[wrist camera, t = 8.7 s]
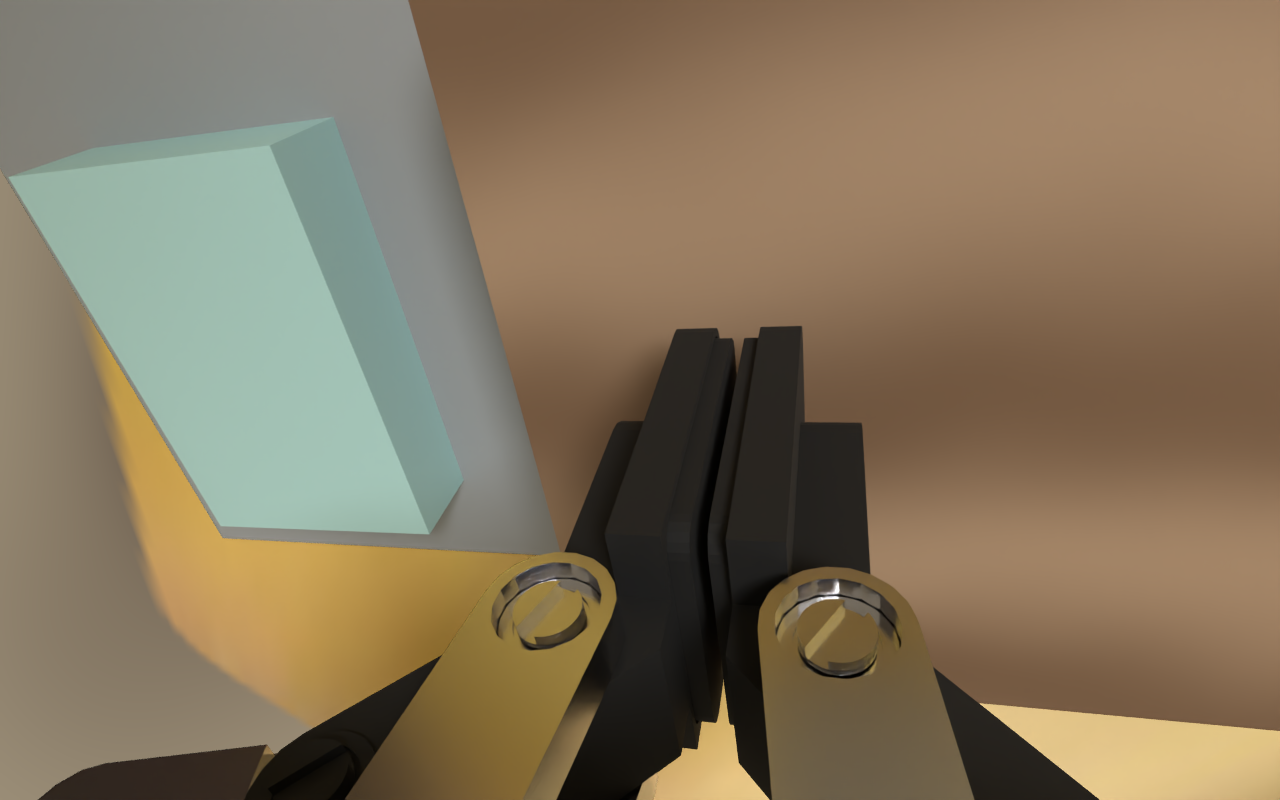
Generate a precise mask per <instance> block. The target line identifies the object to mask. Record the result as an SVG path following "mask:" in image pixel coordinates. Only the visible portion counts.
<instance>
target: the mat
mask: <svg viewBox="0 0 1280 800" xmlns="http://www.w3.org/2000/svg"><path fill="white" fill-rule="evenodd" d="M330 117H334V120H335V123H336V126H337V128H338V131H339V134H340V137H341V140H342V142H343V145H344V148H345V151H346V153H347V156H348V159H349V162H350V165H351V167H352V170H353V173H354V176H355V179H356V181H357V184H358V187H359V190H360V192H361V195H362V198H363V201H364V204H365V206H366V209H367V212H368V215H369V218H370V220H371V223H372V226H373V229H374V231H375V234H376V237H377V240H378V243H379V245H380V248H381V251H382V254H383V256H384V259H385V262H386V265H387V268H388V270H389V273H390V276H391V279H392V282H393V284H394V287H395V290H396V293H397V295H398V298H399V301H400V304H401V307H402V309H403V312H404V315H405V318H406V321H407V323H408V326H409V329H410V332H411V334H412V337H413V340H414V343H415V346H416V348H417V351H418V354H419V357H420V360H421V362H422V365H423V368H424V371H425V373H426V376H427V379H428V382H429V385H430V387H431V390H432V393H433V396H434V399H435V401H436V404H437V407H438V410H439V412H440V415H441V418H442V421H443V424H444V426H445V429H446V432H447V435H448V438H449V440H450V443H451V446H452V449H453V451H454V454H455V457H456V460H457V463H458V465H459V468H460V471H461V474H462V477H463V479H464V481H463V482H462V484H461V485H460V487H459V488H458V490H457V492H456V493H455V495H454V496H453V498H452V500H451V501H450V503H449V504H448V506H447V508H446V509H445V511H444V512H443V514H442V515H441V517H440V519H439V520H438V522H437V523H436V525H435V527H434V528H433V530H432V531H431V533H430V534H407V533H381V532H356V531H331V530H305V529H280V528H255V527H229V526H220V524H219V523H218V521H217V519H216V518H215V516H214V514H213V513H212V511H211V509H210V508H209V506H208V504H207V503H206V501H205V500H204V498H203V496H202V495H201V493H200V491H199V490H198V488H197V486H196V485H195V483H194V481H193V480H192V478H191V477H190V475H189V473H188V472H187V470H186V468H185V467H184V465H183V463H182V462H181V460H180V458H179V457H178V455H177V454H176V452H175V450H174V449H173V447H172V445H171V444H170V442H169V440H168V439H167V437H166V436H165V434H164V432H163V431H162V429H161V427H160V426H159V424H158V422H157V421H156V419H155V417H154V416H153V414H152V413H151V411H150V409H149V408H148V406H147V404H146V403H145V401H144V399H143V398H142V396H141V394H140V393H139V391H138V390H137V388H136V386H135V385H134V383H133V381H132V380H131V378H130V376H129V375H128V373H127V371H126V370H125V368H124V367H123V365H122V363H121V362H120V360H119V358H118V357H117V355H116V353H115V352H114V350H113V349H112V347H111V345H110V344H109V342H108V340H107V339H106V337H105V335H104V334H103V332H102V330H101V329H100V327H99V326H98V324H97V322H96V321H95V319H94V317H93V316H92V314H91V312H90V311H89V309H88V307H87V306H86V304H85V303H84V301H83V299H82V298H81V296H80V294H79V293H78V291H77V289H76V288H75V286H74V284H73V283H72V281H71V280H70V278H69V276H68V275H67V273H66V271H65V270H64V268H63V266H62V265H61V263H60V261H59V260H58V258H57V257H56V255H55V253H54V252H53V250H52V248H51V247H50V245H49V243H48V242H47V240H46V239H45V237H44V235H43V234H42V232H41V230H40V229H39V227H38V225H37V224H36V222H35V220H34V219H33V217H32V216H31V214H30V212H29V211H28V209H27V207H26V206H25V204H24V202H23V201H22V199H21V197H20V196H19V194H18V193H17V191H16V189H15V188H14V186H13V184H12V183H11V181H10V179H9V178H8V177H10V176H13V175H16V174H19V173H22V172H24V171H27V170H30V169H33V168H36V167H39V166H42V165H45V164H48V163H51V162H54V161H57V160H59V159H62V158H65V157H68V156H71V155H74V154H77V153H80V152H83V151H86V150H89V149H92V148H98V147H106V146H113V145H121V144H129V143H137V142H144V141H152V140H160V139H168V138H175V137H183V136H191V135H198V134H206V133H214V132H222V131H229V130H237V129H245V128H253V127H260V126H268V125H276V124H283V123H291V122H299V121H307V120H314V119H322V118H330ZM0 169H1V171H2V173H3V174H4V176H5V178H6V179H7V181H8V183H9V184H10V186H11V188H12V189H13V191H14V193H15V194H16V196H17V198H18V199H19V201H20V203H21V204H22V206H23V208H24V209H25V211H26V212H27V214H28V216H29V217H30V219H31V221H32V222H33V224H34V226H35V227H36V229H37V231H38V232H39V234H40V236H41V237H42V239H43V241H44V242H45V244H46V246H47V247H48V249H49V251H50V252H51V254H52V256H53V257H54V259H55V260H56V262H57V264H58V266H59V267H60V269H61V271H62V272H63V274H64V276H65V277H66V279H67V281H68V282H69V284H70V286H71V287H72V289H73V291H74V292H75V294H76V295H77V297H78V299H79V300H80V302H81V304H82V305H83V307H84V309H85V310H86V312H87V314H88V315H89V317H90V319H91V320H92V322H93V324H94V325H95V327H96V329H97V330H98V332H99V334H100V335H101V337H102V339H103V340H104V342H105V344H106V345H107V347H108V349H109V350H110V352H111V354H112V355H113V357H114V359H115V360H116V362H117V363H118V365H119V367H120V368H121V370H122V372H123V373H124V375H125V377H126V378H127V380H128V382H129V383H130V385H131V387H132V388H133V390H134V392H135V393H136V395H137V397H138V398H139V400H140V402H141V403H142V405H143V407H144V408H145V410H146V412H147V413H148V415H149V417H150V418H151V420H152V422H153V423H154V425H155V427H156V428H157V430H158V431H159V433H160V435H161V436H162V438H163V440H164V441H165V443H166V445H167V446H168V448H169V450H170V451H171V453H172V455H173V456H174V458H175V460H176V461H177V463H178V465H179V466H180V468H181V470H182V471H183V473H184V475H185V476H186V478H187V480H188V481H189V483H190V485H191V486H192V488H193V490H194V491H195V493H196V494H197V496H198V498H199V499H200V501H201V503H202V504H203V506H204V508H205V509H206V511H207V513H208V514H209V516H210V518H211V519H212V521H213V523H214V524H215V526H216V528H217V529H218V531H219V533H220V534H221V536H222V538H231V539H250V540H269V541H287V542H306V543H325V544H344V545H362V546H381V547H400V548H418V549H437V550H456V551H474V552H493V553H512V554H530V555H543V554H548V553H554V552H560V549H559V545H558V542H557V538H556V534H555V531H554V527H553V523H552V520H551V516H550V513H549V509H548V505H547V502H546V498H545V494H544V491H543V487H542V484H541V480H540V476H539V473H538V469H537V465H536V462H535V458H534V455H533V451H532V447H531V444H530V440H529V436H528V433H527V429H526V426H525V422H524V418H523V415H522V411H521V407H520V404H519V400H518V397H517V393H516V389H515V386H514V382H513V378H512V375H511V371H510V368H509V364H508V360H507V357H506V353H505V349H504V346H503V342H502V339H501V335H500V331H499V328H498V324H497V320H496V317H495V313H494V310H493V306H492V302H491V299H490V295H489V291H488V288H487V284H486V281H485V277H484V273H483V270H482V266H481V262H480V259H479V255H478V252H477V248H476V244H475V241H474V237H473V234H472V230H471V226H470V223H469V219H468V215H467V212H466V208H465V205H464V201H463V197H462V194H461V190H460V186H459V183H458V179H457V176H456V172H455V168H454V165H453V161H452V157H451V154H450V150H449V147H448V143H447V139H446V136H445V132H444V128H443V125H442V121H441V118H440V114H439V110H438V107H437V103H436V99H435V96H434V92H433V89H432V85H431V81H430V78H429V74H428V70H427V67H426V63H425V60H424V56H423V52H422V49H421V45H420V41H419V38H418V34H417V31H416V27H415V23H414V20H413V16H412V12H411V9H410V5H409V2H408V0H0Z"/></svg>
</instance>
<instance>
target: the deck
mask: <svg viewBox="0 0 1280 800" xmlns="http://www.w3.org/2000/svg"><path fill="white" fill-rule="evenodd" d="M408 2H409V5H410V9H411V12H412V16H413V20H414V23H415V27H416V31H417V34H418V38H419V41H420V45H421V49H422V52H423V56H424V60H425V63H426V67H427V70H428V74H429V78H430V81H431V85H432V89H433V92H434V96H435V99H436V103H437V107H438V110H439V114H440V118H441V121H442V125H443V128H444V132H445V136H446V139H447V143H448V147H449V150H450V154H451V157H452V161H453V165H454V168H455V172H456V176H457V179H458V183H459V186H460V190H461V194H462V197H463V201H464V205H465V208H466V212H467V215H468V219H469V223H470V226H471V230H472V234H473V237H474V241H475V244H476V248H477V252H478V255H479V259H480V262H481V266H482V270H483V273H484V277H485V281H486V284H487V288H488V291H489V295H490V299H491V302H492V306H493V310H494V313H495V317H496V320H497V324H498V328H499V331H500V335H501V339H502V342H503V346H504V349H505V353H506V357H507V360H508V364H509V368H510V371H511V375H512V378H513V382H514V386H515V389H516V393H517V397H518V400H519V404H520V407H521V411H522V415H523V418H524V422H525V426H526V429H527V433H528V436H529V440H530V444H531V447H532V451H533V455H534V458H535V462H536V465H537V469H538V473H539V476H540V480H541V484H542V487H543V491H544V494H545V498H546V502H547V505H548V509H549V513H550V516H551V520H552V523H553V527H554V531H555V534H556V538H557V542H558V545H559V549H560V552H564V551H565V549H566V546H567V544H568V541H569V539H570V536H571V534H572V531H573V529H574V526H575V524H576V521H577V519H578V516H579V514H580V511H581V509H582V506H583V504H584V501H585V499H586V496H587V494H588V491H589V489H590V486H591V484H592V481H593V479H594V476H595V474H596V471H597V469H598V466H599V464H600V461H601V459H602V456H603V454H604V451H605V449H606V446H607V444H608V441H609V439H610V436H611V434H612V431H613V429H614V427H615V426H616V424H617V423H618V422H620V421H644V419H645V416H646V413H647V410H648V407H649V405H650V402H651V399H652V396H653V393H654V390H655V387H656V385H657V382H658V379H659V376H660V373H661V370H662V367H663V365H664V362H665V359H666V356H667V353H668V350H669V347H670V344H671V342H672V339H673V336H674V333H675V331H676V329H695V328H717V329H718V332H719V336H720V338H733V341H734V347H735V359H736V371H737V373H738V368H739V362H740V357H741V352H742V347H743V342H744V338H758V337H759V331H760V327H775V326H802V331H803V363H804V402H805V422H845V423H862V429H863V446H864V464H865V482H866V500H867V518H868V537H869V555H870V573H871V575H873V576H875V577H877V578H879V579H880V580H882V581H884V582H886V583H887V584H889V585H891V586H893V587H894V588H895V589H896V590H897V591H898V592H899V593H900V594H901V595H902V596H903V597H904V598H905V599H906V600H907V601H908V602H909V604H910V606H911V608H912V609H913V611H914V613H915V615H916V617H917V619H918V621H919V624H920V627H921V630H922V633H923V637H924V640H925V643H926V646H927V649H928V653H929V656H930V659H931V662H932V665H933V667H934V668H935V669H937V670H938V671H939V672H940V673H942V674H943V675H944V676H945V677H947V678H948V679H949V680H950V681H952V682H953V683H954V684H955V685H957V686H958V687H959V688H960V689H962V690H963V691H964V692H965V693H967V694H968V695H969V696H970V697H972V698H973V699H974V700H975V701H977V702H978V703H985V704H996V705H1007V706H1017V707H1028V708H1039V709H1050V710H1060V711H1071V712H1082V713H1093V714H1103V715H1114V716H1125V717H1136V718H1146V719H1157V720H1168V721H1179V722H1189V723H1200V724H1211V725H1222V726H1233V727H1243V728H1254V729H1265V730H1276V731H1280V0H408Z"/></svg>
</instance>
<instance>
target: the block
mask: <svg viewBox="0 0 1280 800" xmlns="http://www.w3.org/2000/svg"><path fill="white" fill-rule="evenodd" d="M8 178H9V179H10V181H11V183H12V184H13V186H14V188H15V189H16V191H17V193H18V194H19V196H20V197H21V199H22V201H23V202H24V204H25V206H26V207H27V209H28V211H29V212H30V214H31V216H32V217H33V219H34V220H35V222H36V224H37V225H38V227H39V229H40V230H41V232H42V234H43V235H44V237H45V239H46V240H47V242H48V243H49V245H50V247H51V248H52V250H53V252H54V253H55V255H56V257H57V258H58V260H59V261H60V263H61V265H62V266H63V268H64V270H65V271H66V273H67V275H68V276H69V278H70V280H71V281H72V283H73V284H74V286H75V288H76V289H77V291H78V293H79V294H80V296H81V298H82V299H83V301H84V303H85V304H86V306H87V307H88V309H89V311H90V312H91V314H92V316H93V317H94V319H95V321H96V322H97V324H98V326H99V327H100V329H101V330H102V332H103V334H104V335H105V337H106V339H107V340H108V342H109V344H110V345H111V347H112V349H113V350H114V352H115V353H116V355H117V357H118V358H119V360H120V362H121V363H122V365H123V367H124V368H125V370H126V371H127V373H128V375H129V376H130V378H131V380H132V381H133V383H134V385H135V386H136V388H137V390H138V391H139V393H140V394H141V396H142V398H143V399H144V401H145V403H146V404H147V406H148V408H149V409H150V411H151V413H152V414H153V416H154V417H155V419H156V421H157V422H158V424H159V426H160V427H161V429H162V431H163V432H164V434H165V436H166V437H167V439H168V440H169V442H170V444H171V445H172V447H173V449H174V450H175V452H176V454H177V455H178V457H179V458H180V460H181V462H182V463H183V465H184V467H185V468H186V470H187V472H188V473H189V475H190V477H191V478H192V480H193V481H194V483H195V485H196V486H197V488H198V490H199V491H200V493H201V495H202V496H203V498H204V500H205V501H206V503H207V504H208V506H209V508H210V509H211V511H212V513H213V514H214V516H215V518H216V519H217V521H218V523H219V524H220V526H229V527H255V528H280V529H305V530H331V531H356V532H381V533H407V534H430V533H431V531H432V530H433V528H434V527H435V525H436V523H437V522H438V520H439V519H440V517H441V515H442V514H443V512H444V511H445V509H446V508H447V506H448V504H449V503H450V501H451V500H452V498H453V496H454V495H455V493H456V492H457V490H458V488H459V487H460V485H461V484H462V482H463V481H464V479H463V477H462V474H461V471H460V468H459V465H458V463H457V460H456V457H455V454H454V451H453V449H452V446H451V443H450V440H449V438H448V435H447V432H446V429H445V426H444V424H443V421H442V418H441V415H440V412H439V410H438V407H437V404H436V401H435V399H434V396H433V393H432V390H431V387H430V385H429V382H428V379H427V376H426V373H425V371H424V368H423V365H422V362H421V360H420V357H419V354H418V351H417V348H416V346H415V343H414V340H413V337H412V334H411V332H410V329H409V326H408V323H407V321H406V318H405V315H404V312H403V309H402V307H401V304H400V301H399V298H398V295H397V293H396V290H395V287H394V284H393V282H392V279H391V276H390V273H389V270H388V268H387V265H386V262H385V259H384V256H383V254H382V251H381V248H380V245H379V243H378V240H377V237H376V234H375V231H374V229H373V226H372V223H371V220H370V218H369V215H368V212H367V209H366V206H365V204H364V201H363V198H362V195H361V192H360V190H359V187H358V184H357V181H356V179H355V176H354V173H353V170H352V167H351V165H350V162H349V159H348V156H347V153H346V151H345V148H344V145H343V142H342V140H341V137H340V134H339V131H338V128H337V126H336V123H335V120H334V117H330V118H322V119H314V120H307V121H299V122H291V123H283V124H276V125H268V126H260V127H253V128H245V129H237V130H229V131H222V132H214V133H206V134H198V135H191V136H183V137H175V138H168V139H160V140H152V141H144V142H137V143H129V144H121V145H113V146H106V147H98V148H92V149H89V150H86V151H83V152H80V153H77V154H74V155H71V156H68V157H65V158H62V159H59V160H57V161H54V162H51V163H48V164H45V165H42V166H39V167H36V168H33V169H30V170H27V171H24V172H22V173H19V174H16V175H13V176H10V177H8Z"/></svg>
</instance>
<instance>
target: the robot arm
mask: <svg viewBox="0 0 1280 800" xmlns="http://www.w3.org/2000/svg"><path fill="white" fill-rule="evenodd" d="M723 679H724V686H725V694H726V702H727V709H728V717H729V723H730V724H731V725H734V728H735V736H736V744H737V752H738V760H739V763H740V765H741V766H742V767H743V768H744V769H745V771H746V772H747V773H748V774H749V775H750V777H751V778H752V779H753V780H754V781H755V783H756V784H757V785H758V786H759V787H760V789H761V790H762V791H763V792H764V793H765V795H766V796H767V797H768V798H769V799H770V800H1099V799H1098V798H1097V797H1095V796H1094V795H1093V794H1092V793H1090V792H1089V791H1088V790H1087V789H1085V788H1084V787H1083V786H1082V785H1080V784H1079V783H1078V782H1077V781H1075V780H1074V779H1073V778H1072V777H1070V776H1069V775H1068V774H1067V773H1065V772H1064V771H1063V770H1062V769H1060V768H1059V767H1058V766H1057V765H1055V764H1054V763H1053V762H1052V761H1050V760H1049V759H1048V758H1047V757H1045V756H1044V755H1043V754H1042V753H1040V752H1039V751H1038V750H1037V749H1035V748H1034V747H1033V746H1032V745H1030V744H1029V743H1028V742H1027V741H1025V740H1024V739H1023V738H1022V737H1020V736H1019V735H1018V734H1017V733H1015V732H1014V731H1013V730H1012V729H1010V728H1009V727H1008V726H1007V725H1005V724H1004V723H1003V722H1002V721H1000V720H999V719H998V718H997V717H995V716H994V715H993V714H992V713H990V712H989V711H988V710H987V709H985V708H984V707H983V706H982V705H980V704H979V703H978V702H977V701H975V700H974V699H973V698H972V697H970V696H969V695H968V694H967V693H965V692H964V691H963V690H962V689H960V688H959V687H958V686H957V685H955V684H954V683H953V682H952V681H950V680H949V679H948V678H947V677H945V676H944V675H943V674H942V673H940V672H939V671H938V670H937V669H935V668H934V667H933V665H932V662H931V659H930V656H929V653H928V649H927V646H926V643H925V640H924V637H923V633H922V630H921V627H920V624H919V621H918V619H917V617H916V615H915V613H914V611H913V609H912V608H911V606H910V604H909V602H908V601H907V600H906V599H905V598H904V597H903V596H902V595H901V594H900V593H899V592H898V591H897V590H896V589H895V588H894V587H893V586H891V585H889V584H887V583H886V582H884V581H882V580H880V579H879V578H877V577H875V576H873V575H871V573H870V555H869V537H868V518H867V500H866V482H865V464H864V446H863V429H862V423H845V422H805V402H804V363H803V331H802V326H775V327H760V331H759V337H758V338H744V342H743V347H742V352H741V357H740V362H739V368H738V373H737V371H736V359H735V347H734V341H733V338H720V336H719V332H718V329H717V328H695V329H676V331H675V333H674V336H673V339H672V342H671V344H670V347H669V350H668V353H667V356H666V359H665V362H664V365H663V367H662V370H661V373H660V376H659V379H658V382H657V385H656V387H655V390H654V393H653V396H652V399H651V402H650V405H649V407H648V410H647V413H646V416H645V419H644V421H620V422H618V423H617V424H616V426H615V427H614V429H613V431H612V434H611V436H610V439H609V441H608V444H607V446H606V449H605V451H604V454H603V456H602V459H601V461H600V464H599V466H598V469H597V471H596V474H595V476H594V479H593V481H592V484H591V486H590V489H589V491H588V494H587V496H586V499H585V501H584V504H583V506H582V509H581V511H580V514H579V516H578V519H577V521H576V524H575V526H574V529H573V531H572V534H571V536H570V539H569V541H568V544H567V546H566V549H565V551H564V552H554V553H548V554H543V555H537V556H534V557H532V558H529V559H527V560H525V561H522V562H520V563H517V564H516V565H514V566H513V567H511V568H510V569H508V570H507V571H505V572H504V573H503V574H501V575H500V576H499V577H498V578H497V579H496V580H495V581H494V582H493V583H492V584H491V586H490V587H489V588H488V589H487V590H486V591H485V593H484V594H483V596H482V597H481V599H480V600H479V602H478V603H477V605H476V606H475V608H474V609H473V611H472V612H471V613H470V615H469V616H468V618H467V619H466V621H465V622H464V624H463V625H462V627H461V628H460V630H459V631H458V633H457V634H456V636H455V637H454V639H453V640H452V642H451V643H450V645H449V646H448V648H447V649H446V650H445V652H444V653H443V655H441V656H440V657H438V658H436V659H434V660H433V661H431V662H429V663H427V664H425V665H424V666H422V667H420V668H418V669H417V670H415V671H413V672H411V673H410V674H408V675H406V676H404V677H403V678H401V679H399V680H397V681H396V682H394V683H392V684H390V685H388V686H387V687H385V688H383V689H381V690H380V691H378V692H376V693H374V694H373V695H371V696H369V697H367V698H366V699H364V700H362V701H360V702H359V703H357V704H355V705H353V706H351V707H350V708H348V709H346V710H344V711H343V712H341V713H339V714H337V715H336V716H334V717H332V718H330V719H329V720H327V721H325V722H323V723H322V724H320V725H318V726H316V727H315V728H313V729H311V730H309V731H307V732H306V733H304V734H302V735H301V736H300V737H298V738H297V739H295V740H294V741H293V742H291V743H290V744H288V745H287V746H285V747H284V748H283V749H281V750H280V751H279V752H278V753H276V754H273V752H272V751H271V750H270V748H269V747H268V745H259V746H250V747H242V748H233V749H225V750H216V751H208V752H199V753H190V754H182V755H173V756H165V757H156V758H147V759H139V760H130V761H121V762H113V763H105V764H101V765H98V766H94V767H91V768H87V769H84V770H81V771H79V772H77V773H76V774H74V775H72V776H70V777H69V778H67V779H65V780H63V781H61V782H60V783H58V784H56V785H55V786H54V787H53V788H51V789H50V790H49V791H48V792H47V793H45V794H44V795H43V796H42V797H41V798H39V799H38V800H654V797H655V792H656V787H657V781H658V773H657V772H659V771H660V770H661V769H663V768H664V767H666V766H667V765H668V764H670V763H671V762H672V761H674V760H675V759H677V758H678V757H679V756H681V752H682V748H690V749H697V748H698V742H699V735H700V729H701V722H702V721H704V722H713V723H716V721H717V719H718V714H719V708H720V701H721V693H722V686H723Z"/></svg>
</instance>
